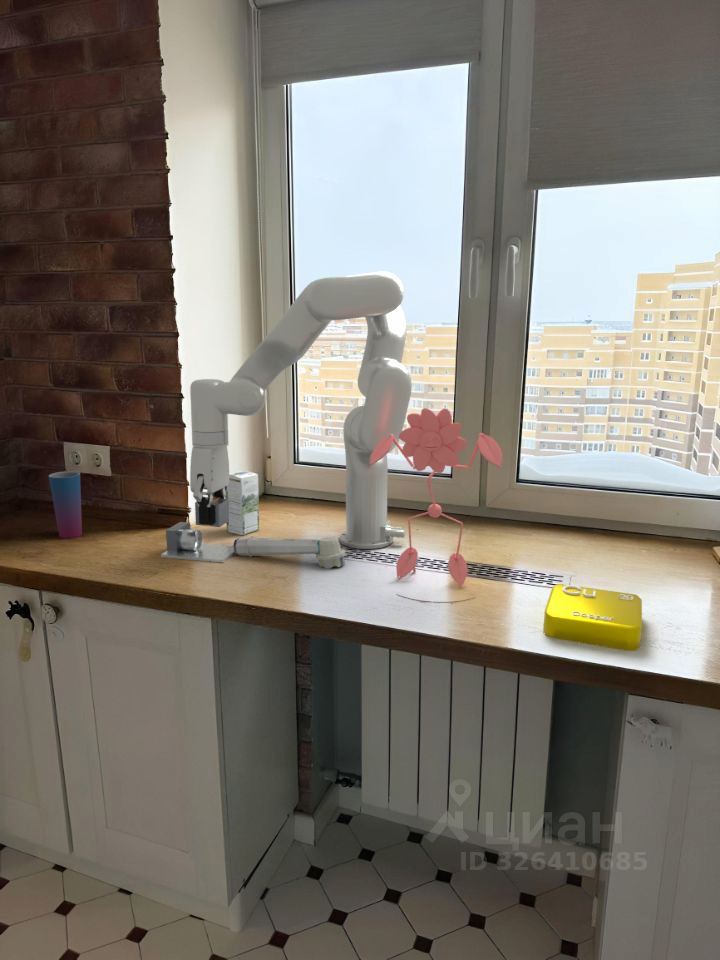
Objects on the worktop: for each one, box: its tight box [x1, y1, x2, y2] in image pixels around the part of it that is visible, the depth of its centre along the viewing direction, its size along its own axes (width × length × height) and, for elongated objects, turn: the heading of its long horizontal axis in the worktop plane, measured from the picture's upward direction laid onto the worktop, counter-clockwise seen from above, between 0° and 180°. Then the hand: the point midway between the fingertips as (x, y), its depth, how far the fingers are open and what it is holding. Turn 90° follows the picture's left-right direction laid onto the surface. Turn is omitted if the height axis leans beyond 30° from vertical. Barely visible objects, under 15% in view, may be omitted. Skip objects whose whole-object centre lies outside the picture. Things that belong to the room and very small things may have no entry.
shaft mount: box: [160, 521, 236, 564], centre depth 150 cm, size 15×9×6 cm, turn 76°
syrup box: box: [225, 470, 260, 536], centre depth 164 cm, size 6×6×14 cm
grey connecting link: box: [232, 535, 346, 569], centre depth 146 cm, size 5×7×25 cm
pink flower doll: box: [370, 407, 503, 605], centre depth 127 cm, size 15×26×35 cm, turn 70°
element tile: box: [542, 583, 643, 652], centre depth 115 cm, size 15×15×5 cm
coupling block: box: [194, 496, 229, 528], centre depth 147 cm, size 6×5×5 cm
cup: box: [48, 470, 83, 539], centre depth 161 cm, size 7×7×15 cm
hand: (212, 519), depth 147 cm, fingers closed on coupling block, 5 cm apart
